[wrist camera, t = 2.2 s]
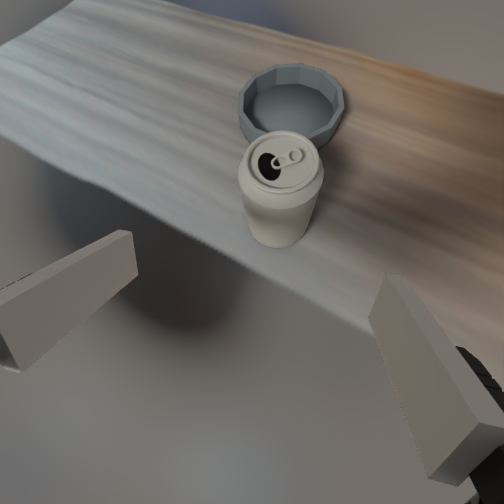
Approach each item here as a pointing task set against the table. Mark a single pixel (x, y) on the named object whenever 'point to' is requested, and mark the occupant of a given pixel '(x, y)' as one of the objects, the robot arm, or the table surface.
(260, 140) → the can
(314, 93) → the dish
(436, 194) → the table surface
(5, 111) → the table surface
